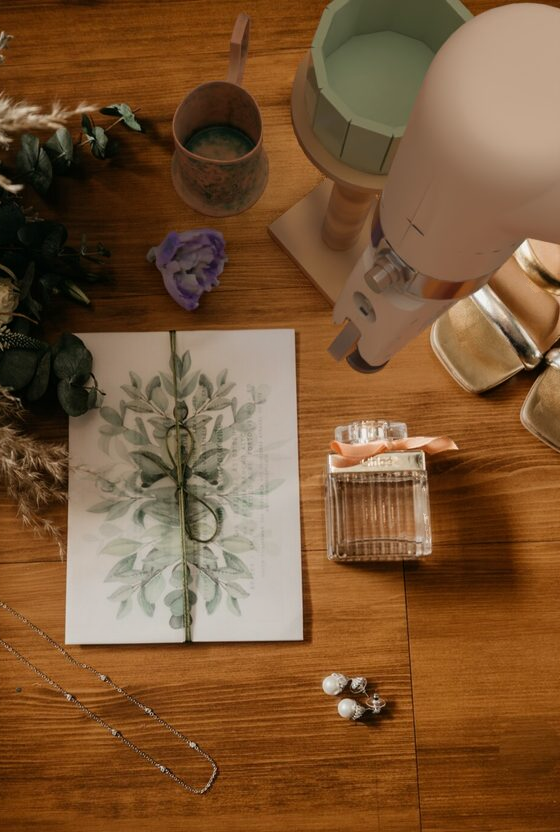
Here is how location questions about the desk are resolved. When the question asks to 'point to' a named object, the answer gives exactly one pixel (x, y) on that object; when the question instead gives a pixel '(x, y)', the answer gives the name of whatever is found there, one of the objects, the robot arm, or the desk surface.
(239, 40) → the mug
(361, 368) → the dark brown stemmed peg
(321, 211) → the stand
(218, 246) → the flower
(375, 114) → the bowl
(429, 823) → the desk surface
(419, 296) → the robot arm
